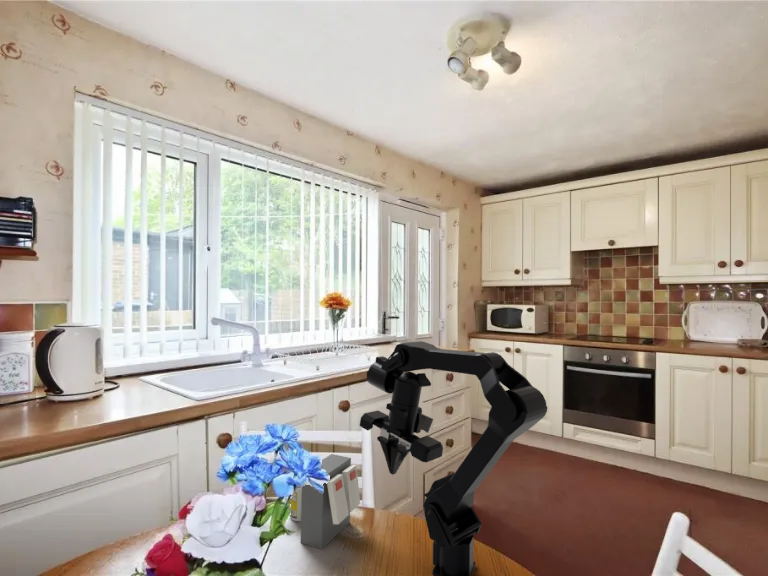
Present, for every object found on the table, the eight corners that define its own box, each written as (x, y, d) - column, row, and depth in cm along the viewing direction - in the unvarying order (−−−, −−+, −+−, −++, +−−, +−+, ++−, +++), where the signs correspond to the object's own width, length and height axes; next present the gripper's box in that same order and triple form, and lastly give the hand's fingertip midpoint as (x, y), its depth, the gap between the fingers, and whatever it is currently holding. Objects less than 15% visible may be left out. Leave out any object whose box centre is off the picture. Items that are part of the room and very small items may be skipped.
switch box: (349, 522, 90) (350, 457, 91) (321, 549, 80) (323, 476, 81) (330, 517, 93) (331, 454, 93) (300, 542, 83) (302, 472, 83)
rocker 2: (361, 503, 88) (357, 465, 89) (352, 511, 85) (348, 472, 86) (355, 502, 89) (351, 464, 90) (346, 511, 85) (342, 471, 86)
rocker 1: (349, 514, 83) (343, 474, 84) (339, 524, 80) (333, 481, 81) (343, 514, 84) (337, 474, 85) (333, 524, 80) (326, 481, 81)
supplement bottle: (316, 510, 95) (317, 467, 96) (310, 523, 90) (311, 477, 90) (293, 509, 96) (294, 466, 96) (286, 521, 90) (287, 476, 91)
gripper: (464, 411, 85) (450, 484, 86) (397, 383, 98) (386, 446, 99) (432, 420, 77) (417, 500, 78) (363, 388, 90) (352, 457, 90)
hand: (392, 473), depth 86 cm, fingers closed
